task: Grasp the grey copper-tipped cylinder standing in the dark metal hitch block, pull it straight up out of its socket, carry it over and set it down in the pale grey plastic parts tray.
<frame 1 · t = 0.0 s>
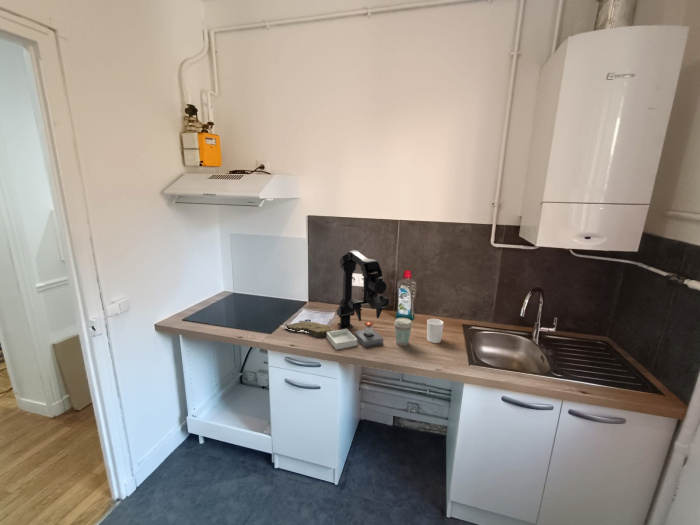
hand: (368, 319, 143), 15 cm above the worktop, fingers open, 9 cm apart
parts tray: (341, 341, 152), on the worktop
stone slab: (308, 331, 165), on the worktop
grey copper-tipped cylinder: (368, 331, 153), in the hitch block
hitch block: (368, 340, 154), on the worktop
white cup: (433, 340, 155), on the worktop
coffee cup: (402, 343, 151), on the worktop
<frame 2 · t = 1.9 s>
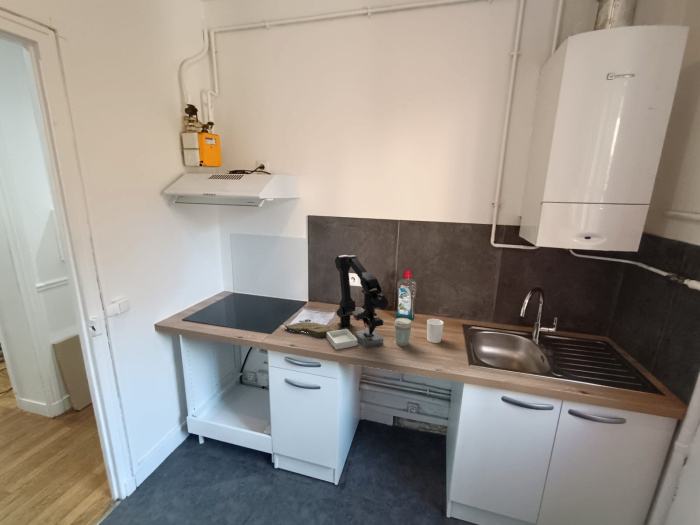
hand: (368, 332, 153), 4 cm above the worktop, fingers closed on grey copper-tipped cylinder, 4 cm apart
grey copper-tipped cylinder: (368, 331, 153), in the hitch block, touching gripper
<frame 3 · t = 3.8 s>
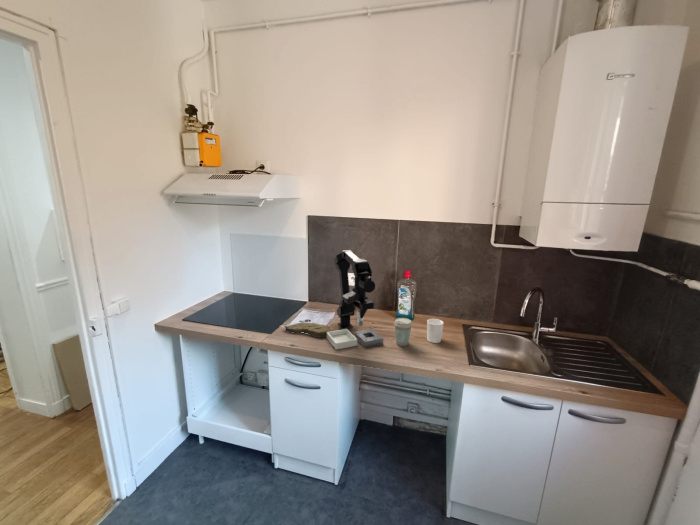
hand: (359, 316, 151), 13 cm above the worktop, fingers closed on grey copper-tipped cylinder, 4 cm apart
grey copper-tipped cylinder: (359, 315, 151), point 13 cm above the worktop, touching gripper
when the fingers open (6 cm above the worktop, at t = 5.9 s): grey copper-tipped cylinder drops 1 cm, resting on parts tray.
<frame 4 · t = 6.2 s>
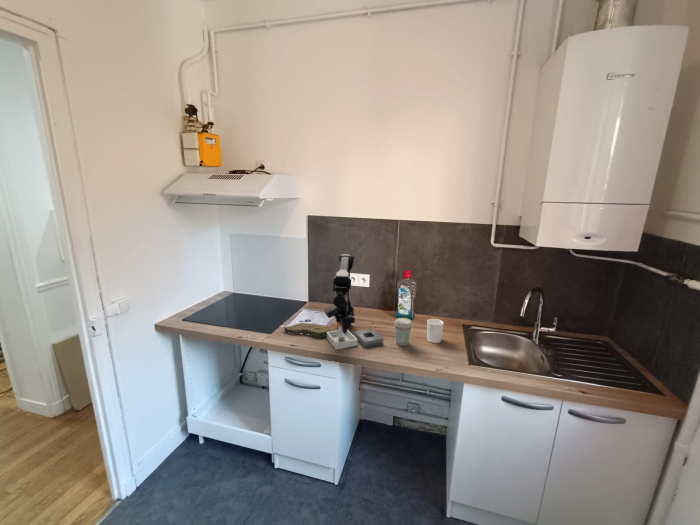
hand: (341, 330, 151), 6 cm above the worktop, fingers open, 7 cm apart
grey copper-tipped cylinder: (341, 331, 151), in the parts tray, point 5 cm above the worktop
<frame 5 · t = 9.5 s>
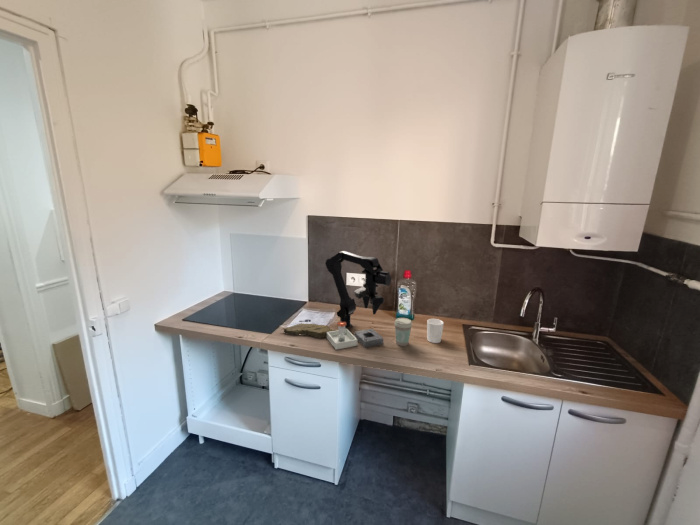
hand: (369, 311, 159), 12 cm above the worktop, fingers open, 9 cm apart
at the end: grey copper-tipped cylinder inside the target area on the parts tray (0.0 cm from its centre), point 5.3 cm above the parts tray's base; the gripper is holding nothing; grey copper-tipped cylinder moved 13.6 cm from its start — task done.
